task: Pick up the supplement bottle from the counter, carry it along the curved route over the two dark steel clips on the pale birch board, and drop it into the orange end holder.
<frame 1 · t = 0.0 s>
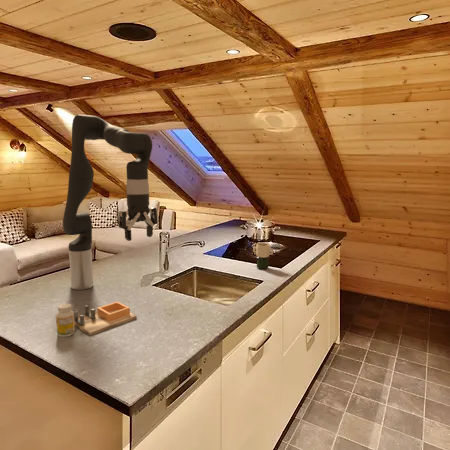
hand: (139, 238, 129), 29 cm above the worktop, tool pointing down, fingers open, 8 cm apart
supplement bottle: (66, 333, 121), on the worktop
cable clips: (84, 315, 128), on the route board, point 3 cm above the worktop
end holder: (113, 316, 133), resting on route board
character mug: (262, 268, 194), on the worktop
route board: (103, 320, 131), on the worktop
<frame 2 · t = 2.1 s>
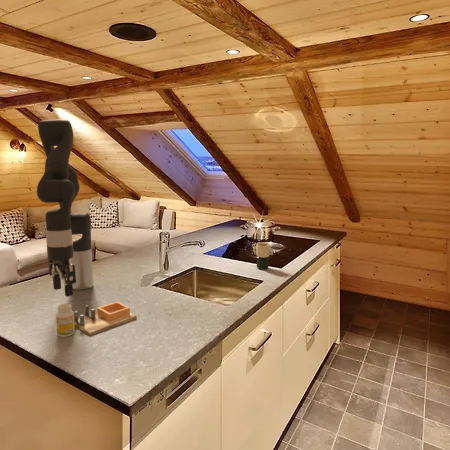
hand: (63, 292, 118), 14 cm above the worktop, tool pointing down, fingers open, 8 cm apart
nothing on the worktop moved.
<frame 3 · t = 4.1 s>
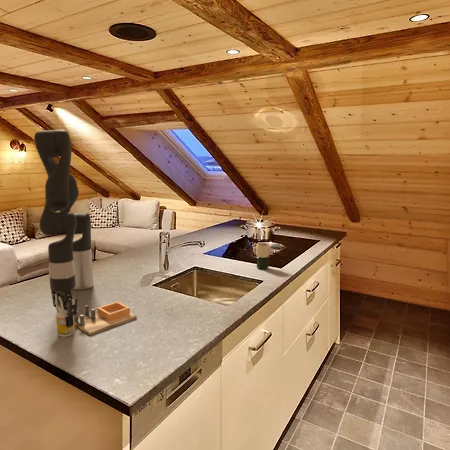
hand: (65, 323, 120), 3 cm above the worktop, tool pointing down, fingers closed on supplement bottle, 5 cm apart
supplement bottle: (66, 333, 121), on the worktop, touching gripper
everything else where it was.
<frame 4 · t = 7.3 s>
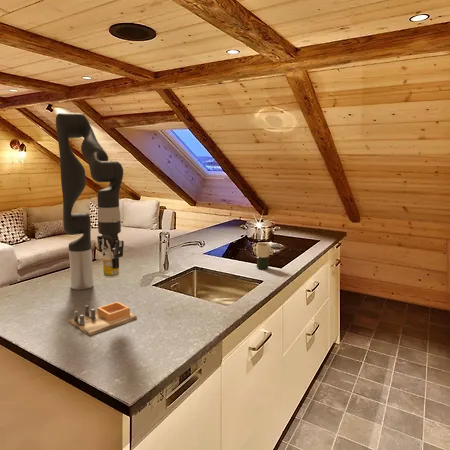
hand: (111, 266, 130), 19 cm above the worktop, tool pointing down, fingers closed on supplement bottle, 5 cm apart
supplement bottle: (111, 276, 131), point 15 cm above the worktop, touching gripper
everything else where it was.
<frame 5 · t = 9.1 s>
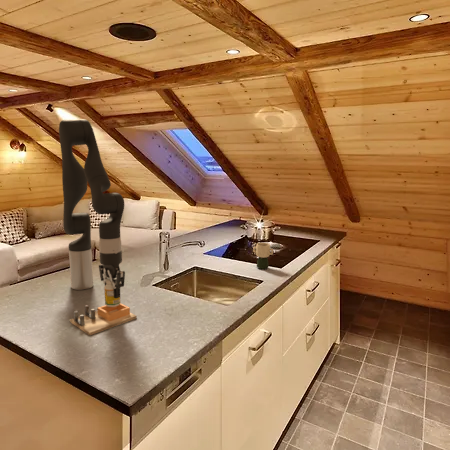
hand: (112, 295, 132), 8 cm above the worktop, tool pointing down, fingers closed on supplement bottle, 5 cm apart
supplement bottle: (113, 304, 132), point 5 cm above the worktop, touching gripper
everything else where it was.
when the fingers open (6 cm above the worktop, at t = 10.6 s): supplement bottle drops 1 cm, resting on route board.
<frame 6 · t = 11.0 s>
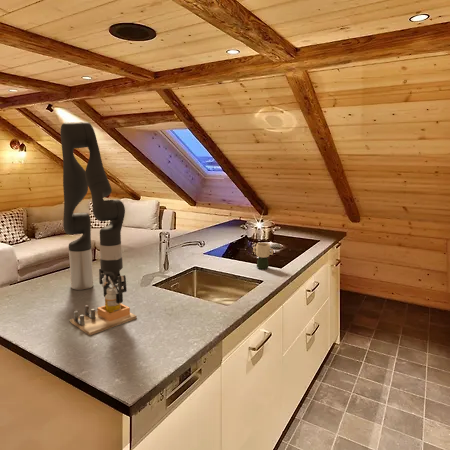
hand: (113, 299, 132), 7 cm above the worktop, tool pointing down, fingers open, 8 cm apart
supplement bottle: (113, 314, 133), point 1 cm above the worktop, touching route board
everything else where it was.
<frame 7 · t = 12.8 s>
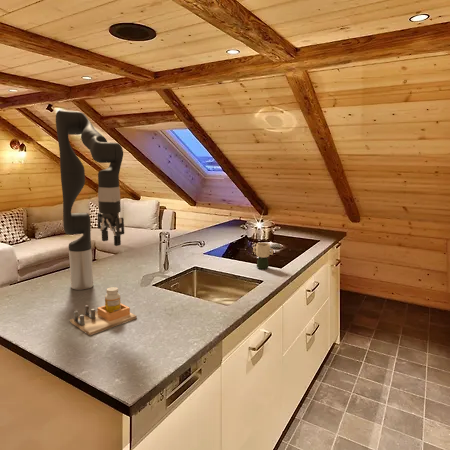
hand: (111, 243, 134), 26 cm above the worktop, tool pointing down, fingers open, 8 cm apart
nothing on the worktop moved.
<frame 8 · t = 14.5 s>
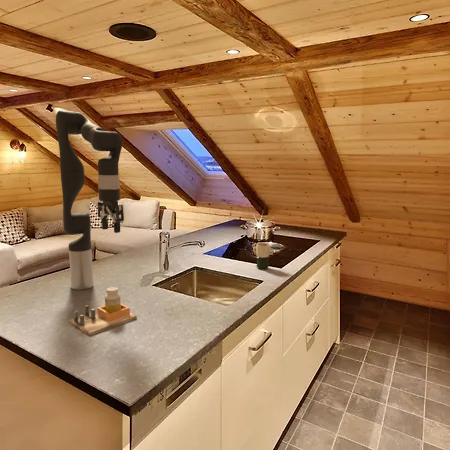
hand: (111, 230, 137), 30 cm above the worktop, tool pointing down, fingers open, 8 cm apart
nothing on the worktop moved.
at the end: supplement bottle 0.3 cm off-centre on the end holder, point 0.8 cm above the end holder's base; supplement bottle tilted 0°; the gripper is holding nothing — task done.
